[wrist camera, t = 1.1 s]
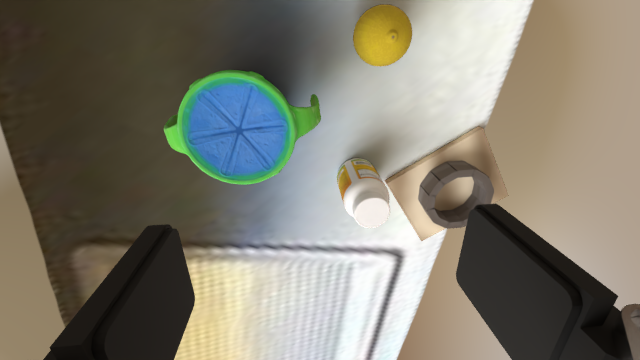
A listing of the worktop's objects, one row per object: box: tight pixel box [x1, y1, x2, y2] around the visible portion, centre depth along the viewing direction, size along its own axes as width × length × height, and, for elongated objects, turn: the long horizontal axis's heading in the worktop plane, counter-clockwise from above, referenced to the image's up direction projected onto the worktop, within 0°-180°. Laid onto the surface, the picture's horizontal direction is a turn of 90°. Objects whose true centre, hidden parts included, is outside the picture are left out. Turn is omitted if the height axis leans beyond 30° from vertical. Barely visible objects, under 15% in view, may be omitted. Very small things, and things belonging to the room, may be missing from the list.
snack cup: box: [164, 70, 321, 184], centre depth 31 cm, size 16×10×10 cm
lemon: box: [353, 5, 412, 66], centre depth 30 cm, size 6×6×8 cm
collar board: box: [385, 126, 508, 241], centre depth 41 cm, size 14×12×4 cm
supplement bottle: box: [337, 158, 390, 228], centre depth 36 cm, size 5×5×10 cm
